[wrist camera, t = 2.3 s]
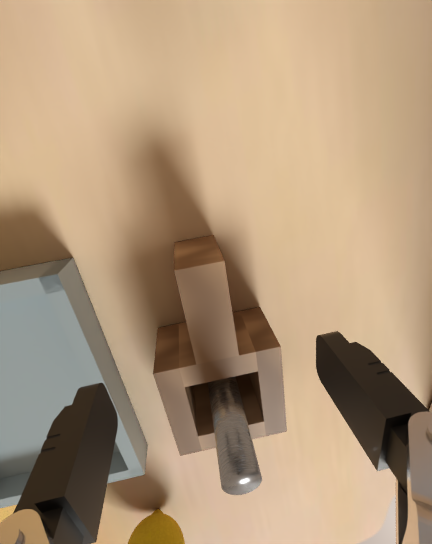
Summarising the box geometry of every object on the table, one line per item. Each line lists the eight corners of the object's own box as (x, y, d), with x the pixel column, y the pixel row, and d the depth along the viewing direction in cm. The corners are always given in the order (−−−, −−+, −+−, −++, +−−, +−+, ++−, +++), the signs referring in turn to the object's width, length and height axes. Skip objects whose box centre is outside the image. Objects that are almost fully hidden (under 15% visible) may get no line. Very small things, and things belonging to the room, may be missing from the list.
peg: (228, 344, 21) (259, 465, 13) (231, 364, 22) (263, 489, 14) (202, 349, 21) (218, 474, 13) (206, 369, 22) (224, 498, 14)
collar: (251, 227, 18) (273, 251, 14) (267, 382, 24) (286, 431, 20) (135, 249, 18) (122, 280, 14) (179, 401, 23) (180, 455, 19)
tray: (73, 257, 17) (57, 274, 15) (147, 444, 25) (144, 474, 23) (-149, 299, 17) (-201, 323, 14) (-4, 478, 24) (-22, 513, 22)
